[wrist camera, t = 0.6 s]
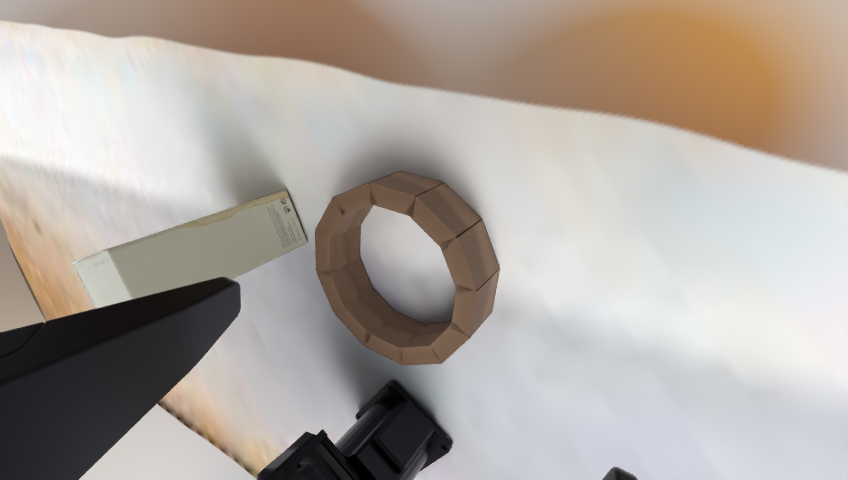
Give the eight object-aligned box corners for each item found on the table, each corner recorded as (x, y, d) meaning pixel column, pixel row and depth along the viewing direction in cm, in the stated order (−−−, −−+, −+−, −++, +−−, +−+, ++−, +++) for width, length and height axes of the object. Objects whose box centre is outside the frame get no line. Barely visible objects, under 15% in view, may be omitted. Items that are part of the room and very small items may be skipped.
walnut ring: (431, 367, 31) (408, 393, 28) (324, 253, 32) (293, 269, 30) (536, 271, 24) (517, 295, 22) (394, 134, 26) (362, 143, 23)
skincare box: (288, 188, 32) (107, 245, 22) (310, 244, 33) (145, 323, 23) (240, 204, 36) (67, 260, 26) (261, 255, 37) (100, 327, 27)
